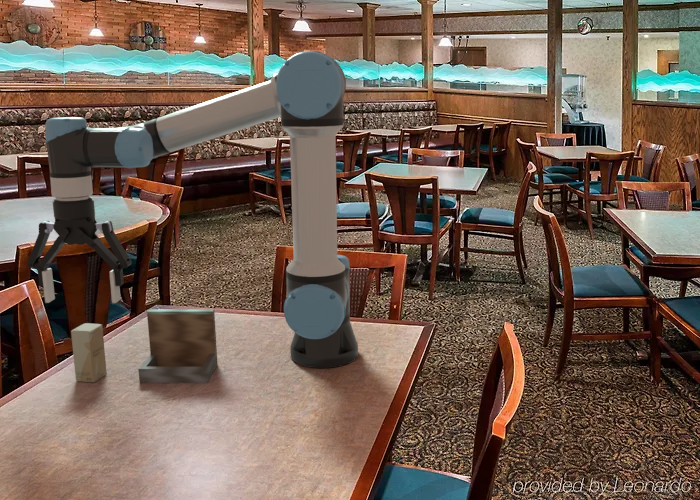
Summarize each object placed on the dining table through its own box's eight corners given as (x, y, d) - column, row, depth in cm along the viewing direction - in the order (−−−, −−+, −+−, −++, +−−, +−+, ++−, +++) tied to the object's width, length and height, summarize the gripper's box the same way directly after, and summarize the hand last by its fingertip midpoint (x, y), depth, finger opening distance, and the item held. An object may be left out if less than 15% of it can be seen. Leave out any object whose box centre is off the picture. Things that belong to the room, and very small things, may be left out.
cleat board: (217, 364, 148) (214, 309, 145) (207, 382, 139) (203, 324, 136) (153, 364, 148) (149, 309, 146) (139, 382, 139) (134, 324, 136)
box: (94, 383, 139) (88, 332, 137) (75, 381, 140) (69, 330, 138) (107, 372, 144) (102, 323, 142) (89, 371, 145) (84, 322, 143)
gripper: (142, 194, 137) (149, 295, 142) (19, 194, 137) (31, 295, 142) (129, 200, 129) (138, 307, 134) (0, 200, 130) (13, 306, 135)
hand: (83, 301), depth 138 cm, fingers open, 13 cm apart
